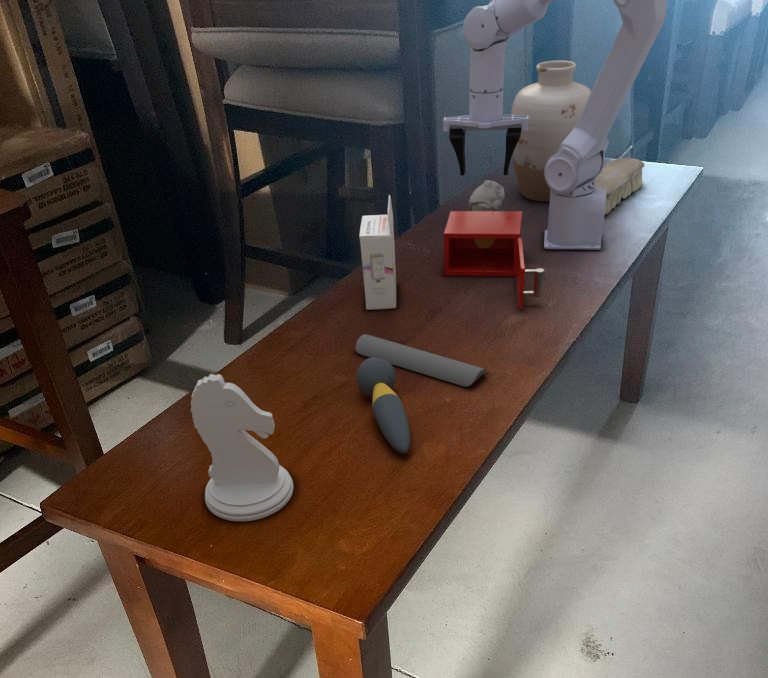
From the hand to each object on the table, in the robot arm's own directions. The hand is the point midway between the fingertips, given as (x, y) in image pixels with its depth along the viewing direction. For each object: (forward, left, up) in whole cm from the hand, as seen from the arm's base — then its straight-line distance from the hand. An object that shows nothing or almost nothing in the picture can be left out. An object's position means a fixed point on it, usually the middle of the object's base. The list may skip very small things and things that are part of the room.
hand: (484, 173), depth 139 cm
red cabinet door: (-9, +30, -8) cm, 33 cm away
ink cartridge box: (+14, +33, -9) cm, 37 cm away
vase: (-11, -16, -9) cm, 22 cm away
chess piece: (+20, +83, -9) cm, 86 cm away
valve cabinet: (-1, +19, -9) cm, 21 cm away
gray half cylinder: (+5, +53, -9) cm, 54 cm away
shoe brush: (-23, -13, -9) cm, 28 cm away
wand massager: (+7, +66, -9) cm, 67 cm away
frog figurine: (0, -1, -9) cm, 9 cm away
